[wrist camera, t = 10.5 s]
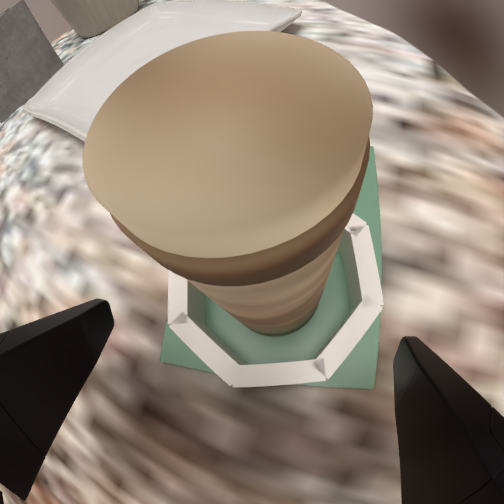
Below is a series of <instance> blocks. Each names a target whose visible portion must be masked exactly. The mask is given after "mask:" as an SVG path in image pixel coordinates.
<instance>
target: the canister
mask: <svg viewBox="0 0 504 504" xmlns="http://www.w3.org/2000/svg"><path fill="white" fill-rule="evenodd" d="M51 1H52V3H53V4H54V5H55V6H56V8H57V9H58V10H59V12H60V13H61V14H62V16H63V17H64V18H65V19H66V21H67V22H68V23H69V24H70V26H71V27H72V28H73V29H74V31H75V32H76V33H77V34H78V35H79V36H81V37H83V38H91V37H94V36H96V35H99V34H101V33H103V32H106V31H107V30H109V29H111V28H112V27H114V26H115V25H117V24H118V23H120V22H122V21H123V20H125V19H127V18H128V17H130V16H132V15H133V14H135V13H136V11H137V10H138V5H139V1H138V0H51Z"/></svg>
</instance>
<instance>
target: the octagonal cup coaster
mask: <svg viewBox="0 0 504 504" xmlns="http://www.w3.org/2000/svg"><path fill="white" fill-rule="evenodd" d="M383 305H384V303H383V296H382V290H381V227H380V209H379V196H378V184H377V174H376V165H375V156H374V148H373V146H370V154H369V161H368V165H367V169H366V173H365V177H364V180H363V184H362V187H361V190H360V194H359V197H358V200H357V203H356V206H355V210H354V212H353V214H352V216H351V218H350V220H349V222H348V224H347V226H346V227H345V229H344V230H343V233H342V236H341V239H340V242H339V245H338V249H337V252H336V255H335V258H334V261H333V264H332V267H331V270H330V273H329V276H328V279H327V282H326V285H325V287H324V290H323V293H322V296H321V299H320V301H319V304H318V307H317V310H316V311H315V313H314V315H313V316H312V318H311V319H310V320H309V321H308V323H307V324H306V325H304V326H303V327H302V328H300V329H299V330H297V331H295V332H293V333H291V334H287V335H284V336H265V335H261V334H258V333H256V332H254V331H252V330H250V329H249V328H247V327H246V326H245V325H243V324H242V323H241V322H240V321H238V320H237V319H236V318H234V317H233V316H232V315H230V314H229V313H228V312H227V311H225V310H224V309H223V308H221V307H220V306H219V305H218V304H216V303H215V302H214V301H213V300H211V299H210V298H209V297H208V296H206V295H205V294H204V293H203V292H201V291H200V290H199V289H198V288H196V287H195V286H194V285H193V284H191V283H190V282H189V281H188V280H187V279H185V278H184V277H181V276H179V275H177V274H175V273H173V272H171V271H170V270H169V283H168V317H167V322H166V327H165V333H164V338H163V344H162V350H161V356H160V361H161V362H165V363H169V364H173V365H178V366H182V367H187V368H192V369H196V370H201V371H206V372H212V373H216V374H217V375H218V376H219V377H220V378H221V379H222V380H223V381H224V382H226V383H227V384H228V385H229V386H233V387H261V386H277V385H290V384H296V385H306V386H319V387H334V388H357V389H374V384H375V376H376V367H377V357H378V345H379V332H380V314H381V310H382V309H383V307H382V306H383Z"/></svg>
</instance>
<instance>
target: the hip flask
mask: <svg viewBox="0 0 504 504" xmlns="http://www.w3.org/2000/svg"><path fill="white" fill-rule="evenodd" d="M5 12H6V13H5ZM5 12H3V13H4V14H3V13H2V14H3V15H2V14H1V15H2V16H1V15H0V16H1V17H0V122H1V123H2V122H4V121H5V120H6V119H7V118H8V117H9V116H10V115H11V114H12V113H13V112H14V111H16V110H17V109H18V108H19V107H20V106H21V105H23V104H24V103H25V102H26V101H28V100H29V99H30V98H32V97H33V96H34V95H35V94H36V93H37V92H38V91H39V90H40V89H41V88H42V87H43V86H44V85H45V84H46V83H47V82H48V81H49V80H50V79H51V78H52V77H53V76H54V75H55V74H56V73H57V72H58V71H59V70H60V69H61V68H62V67H63V66H64V64H63V63H62V61H61V60H60V58H59V57H58V55H57V54H56V52H55V50H54V49H53V47H52V46H51V44H50V43H49V41H48V40H47V38H46V36H45V35H44V33H43V31H42V30H41V28H40V27H39V25H38V23H37V21H36V20H35V18H34V16H33V15H32V13H31V11H30V10H29V8H28V6H27V4H26V3H25V1H24V0H21V1H20V2H18V3H17V4H16V5H14V6H13V7H12V8H11V9H10V8H9V10H8V9H7V10H6V11H5Z"/></svg>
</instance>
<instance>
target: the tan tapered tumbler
mask: <svg viewBox="0 0 504 504" xmlns="http://www.w3.org/2000/svg"><path fill="white" fill-rule="evenodd" d="M372 115H373V105H372V100H371V95H370V92H369V89H368V87H367V85H366V82H365V81H364V79H363V78H362V76H361V75H360V73H359V72H358V70H357V69H356V68H355V67H354V66H353V65H352V64H351V63H350V62H349V61H348V60H346V59H345V58H344V57H343V56H341V55H340V54H339V53H337V52H335V51H334V50H332V49H330V48H329V47H327V46H325V45H323V44H320V43H318V42H316V41H313V40H310V39H307V38H304V37H301V36H297V35H293V34H287V33H281V32H273V31H239V32H230V33H223V34H218V35H213V36H209V37H205V38H201V39H198V40H195V41H192V42H189V43H186V44H183V45H181V46H178V47H176V48H174V49H172V50H170V51H167V52H165V53H163V54H162V55H160V56H158V57H156V58H154V59H153V60H151V61H149V62H148V63H146V64H145V65H143V66H142V67H140V68H139V69H138V70H136V71H135V72H134V73H133V74H131V75H130V76H129V77H128V78H127V79H125V80H124V81H123V82H122V83H121V84H120V85H119V86H118V87H117V88H116V89H115V90H114V91H113V92H112V93H111V95H110V96H109V97H108V98H107V100H106V101H105V102H104V104H103V105H102V106H101V108H100V109H99V111H98V113H97V114H96V116H95V117H94V120H93V122H92V124H91V126H90V128H89V131H88V134H87V137H86V140H85V144H84V150H83V170H84V176H85V179H86V182H87V184H88V187H89V189H90V191H91V192H92V194H93V195H94V197H95V198H96V200H97V201H98V202H99V203H100V204H101V205H102V206H103V207H104V208H105V209H106V210H107V211H109V212H110V214H111V216H112V218H113V220H114V221H115V223H116V224H117V226H118V227H119V228H120V230H121V231H122V232H123V233H124V234H125V235H126V236H127V237H128V238H129V239H131V240H132V241H133V242H134V243H135V244H136V245H137V246H139V247H140V248H141V249H142V250H144V251H145V252H146V253H147V254H148V255H150V256H151V257H152V258H153V259H155V260H156V261H157V262H158V263H160V264H161V265H162V266H164V267H165V268H167V269H168V270H170V271H171V272H173V273H175V274H177V275H179V276H181V277H184V278H185V279H187V280H188V281H189V282H190V283H191V284H193V285H194V286H195V287H196V288H198V289H199V290H200V291H201V292H203V293H204V294H205V295H206V296H208V297H209V298H210V299H211V300H213V301H214V302H215V303H216V304H218V305H219V306H220V307H221V308H223V309H224V310H225V311H227V312H228V313H229V314H230V315H232V316H233V317H234V318H236V319H237V320H238V321H240V322H241V323H242V324H243V325H245V326H246V327H247V328H249V329H250V330H252V331H254V332H256V333H258V334H261V335H265V336H284V335H287V334H291V333H293V332H295V331H297V330H299V329H300V328H302V327H303V326H304V325H306V324H307V323H308V321H309V320H310V319H311V318H312V316H313V315H314V313H315V311H316V310H317V307H318V304H319V301H320V299H321V296H322V293H323V290H324V287H325V285H326V282H327V279H328V276H329V273H330V270H331V267H332V264H333V261H334V258H335V255H336V252H337V249H338V245H339V242H340V239H341V236H342V233H343V230H344V229H345V227H346V226H347V224H348V222H349V220H350V218H351V216H352V214H353V212H354V210H355V206H356V203H357V200H358V197H359V194H360V190H361V187H362V184H363V180H364V177H365V173H366V169H367V165H368V161H369V154H370V140H369V132H370V128H371V123H372Z"/></svg>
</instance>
